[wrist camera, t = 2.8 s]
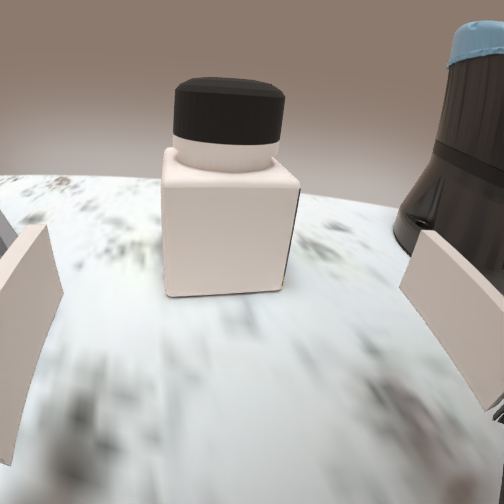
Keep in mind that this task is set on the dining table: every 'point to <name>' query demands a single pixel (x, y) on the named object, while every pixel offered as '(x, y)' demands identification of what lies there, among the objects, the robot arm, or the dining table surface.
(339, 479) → the dining table surface
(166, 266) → the medicine bottle
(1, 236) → the box
